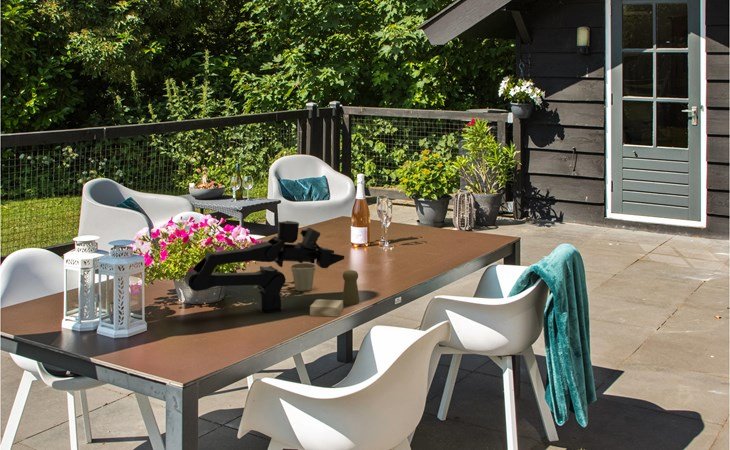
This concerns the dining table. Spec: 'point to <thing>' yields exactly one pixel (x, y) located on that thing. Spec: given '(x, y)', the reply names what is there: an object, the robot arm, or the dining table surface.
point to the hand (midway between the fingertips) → (339, 254)
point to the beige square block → (326, 308)
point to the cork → (350, 288)
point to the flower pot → (303, 275)
